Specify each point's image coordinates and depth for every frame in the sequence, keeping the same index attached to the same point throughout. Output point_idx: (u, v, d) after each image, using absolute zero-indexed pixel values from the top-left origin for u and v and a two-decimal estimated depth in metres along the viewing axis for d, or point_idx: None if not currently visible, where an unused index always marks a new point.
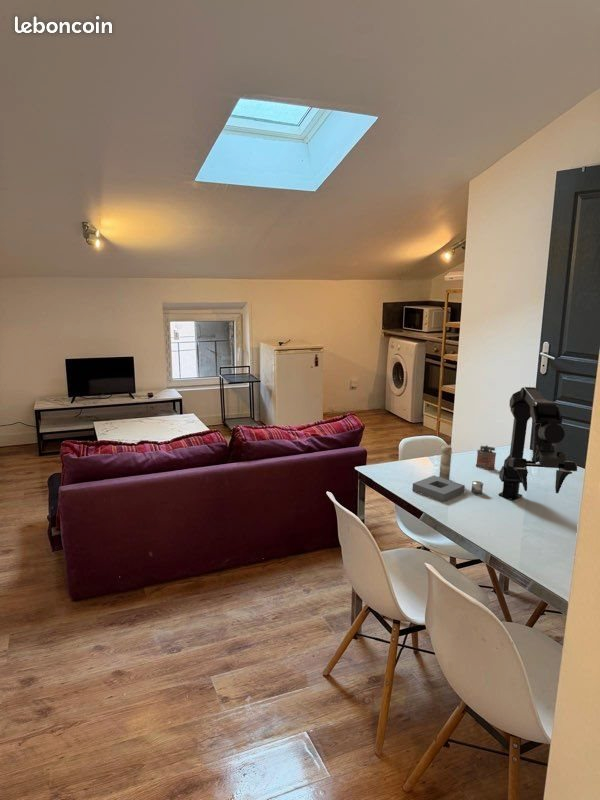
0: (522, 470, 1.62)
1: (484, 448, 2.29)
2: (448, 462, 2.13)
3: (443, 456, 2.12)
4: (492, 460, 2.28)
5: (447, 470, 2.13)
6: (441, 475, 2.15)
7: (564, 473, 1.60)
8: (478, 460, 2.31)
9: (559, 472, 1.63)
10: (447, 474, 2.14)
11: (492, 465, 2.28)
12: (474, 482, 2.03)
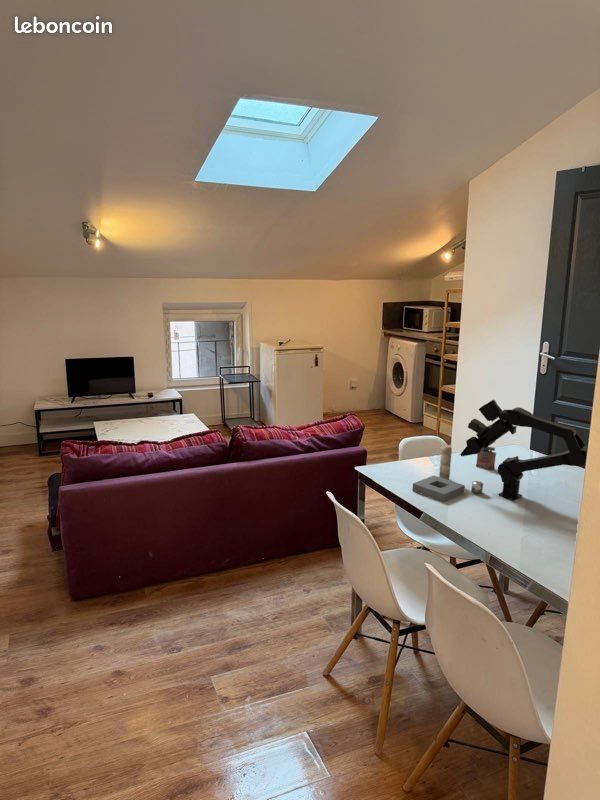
0: None
1: (484, 448, 2.29)
2: (448, 462, 2.13)
3: (443, 456, 2.12)
4: (492, 460, 2.28)
5: (447, 470, 2.13)
6: (441, 475, 2.15)
7: None
8: (478, 460, 2.31)
9: None
10: (447, 474, 2.14)
11: (492, 465, 2.28)
12: (474, 482, 2.03)
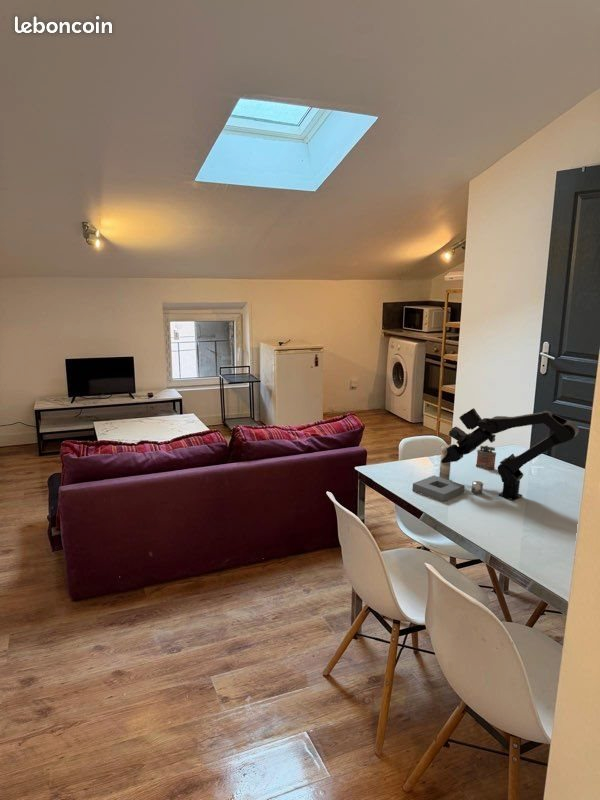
0: None
1: (484, 448, 2.29)
2: (448, 462, 2.13)
3: (443, 456, 2.12)
4: (492, 460, 2.28)
5: (447, 470, 2.13)
6: (441, 475, 2.15)
7: None
8: (478, 460, 2.31)
9: None
10: (447, 474, 2.14)
11: (492, 465, 2.28)
12: (474, 482, 2.03)
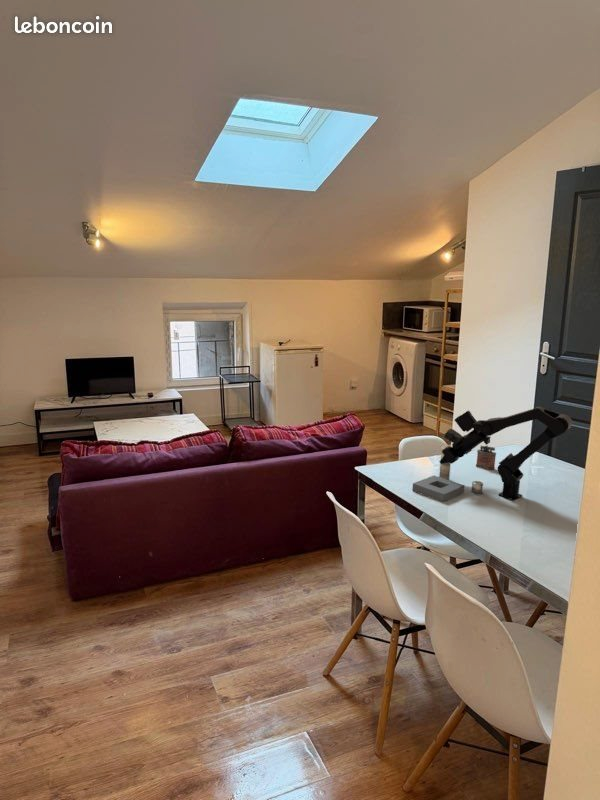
0: None
1: (484, 448, 2.29)
2: None
3: None
4: (492, 460, 2.28)
5: (447, 470, 2.13)
6: (441, 475, 2.15)
7: None
8: (478, 460, 2.31)
9: None
10: (447, 474, 2.14)
11: (492, 465, 2.28)
12: (474, 482, 2.03)
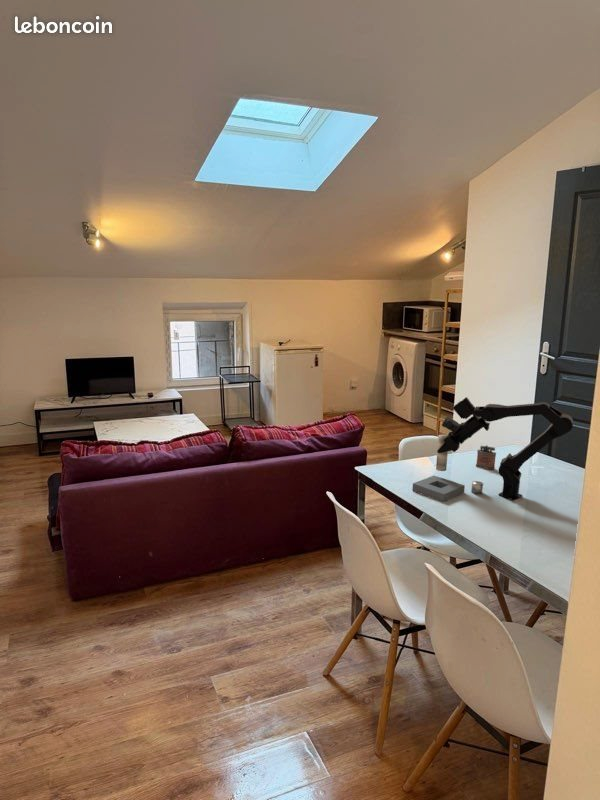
0: (449, 433, 2.11)
1: (484, 448, 2.29)
2: None
3: (441, 445, 2.07)
4: (492, 459, 2.28)
5: (445, 459, 2.08)
6: (439, 465, 2.09)
7: None
8: (478, 460, 2.31)
9: None
10: (445, 463, 2.09)
11: (492, 465, 2.28)
12: (474, 482, 2.03)
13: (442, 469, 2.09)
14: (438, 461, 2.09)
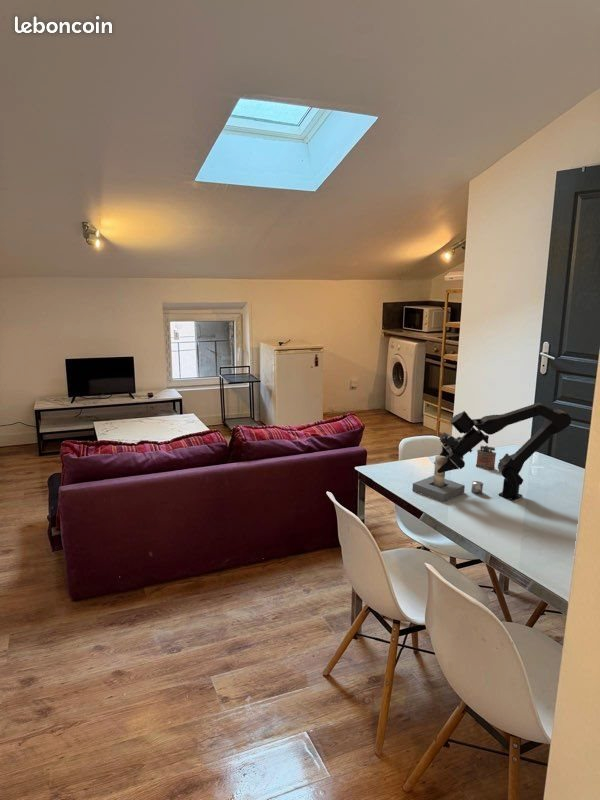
0: (442, 447, 2.06)
1: (484, 448, 2.29)
2: (444, 473, 2.00)
3: None
4: (492, 460, 2.28)
5: (443, 481, 2.01)
6: None
7: (446, 457, 1.94)
8: (478, 460, 2.31)
9: None
10: (443, 485, 2.02)
11: (492, 465, 2.28)
12: (474, 482, 2.03)
13: None
14: (437, 484, 2.01)
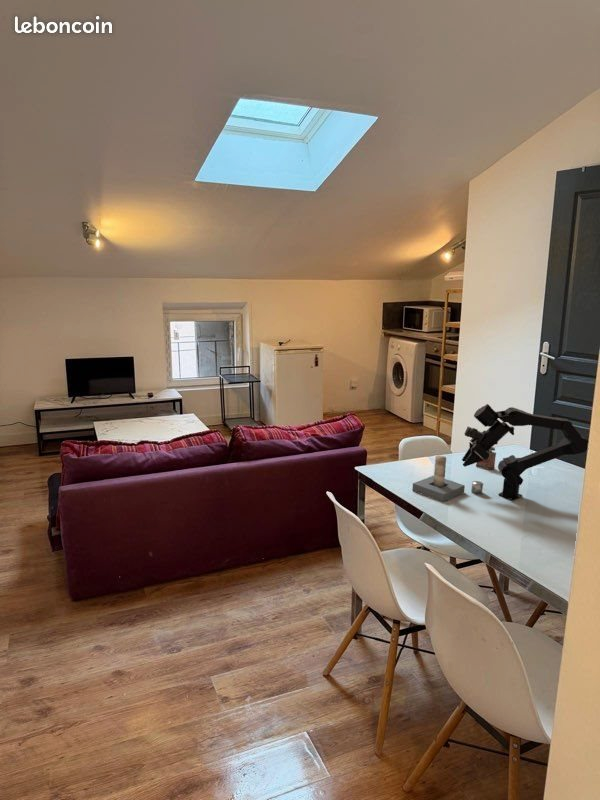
0: (469, 443, 2.05)
1: None
2: (444, 473, 2.00)
3: (440, 467, 1.99)
4: (492, 460, 2.28)
5: (443, 481, 2.01)
6: None
7: (471, 449, 1.93)
8: None
9: None
10: (443, 485, 2.02)
11: (492, 465, 2.28)
12: (474, 482, 2.03)
13: None
14: (437, 484, 2.01)
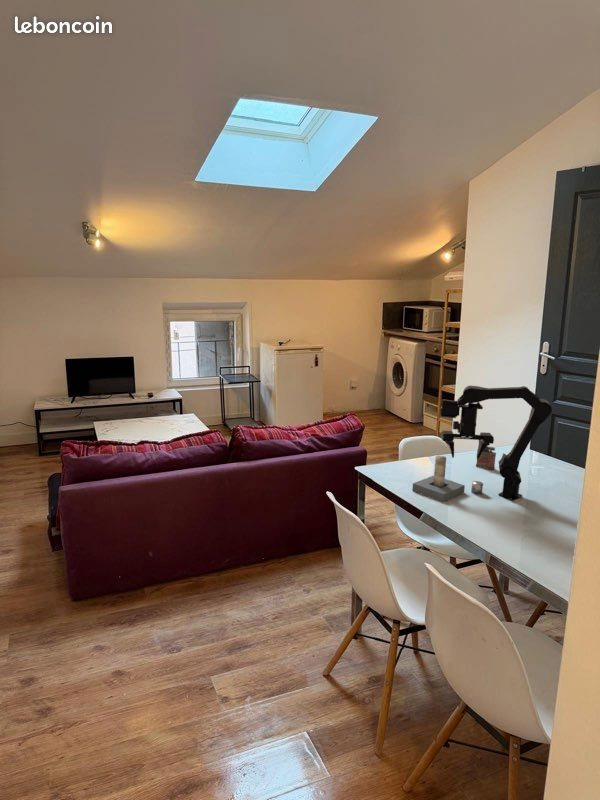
0: None
1: None
2: (444, 473, 2.00)
3: (440, 467, 1.99)
4: (492, 460, 2.28)
5: (443, 481, 2.01)
6: None
7: None
8: (478, 460, 2.31)
9: None
10: (443, 485, 2.02)
11: (492, 465, 2.28)
12: (474, 482, 2.03)
13: None
14: (437, 484, 2.01)
